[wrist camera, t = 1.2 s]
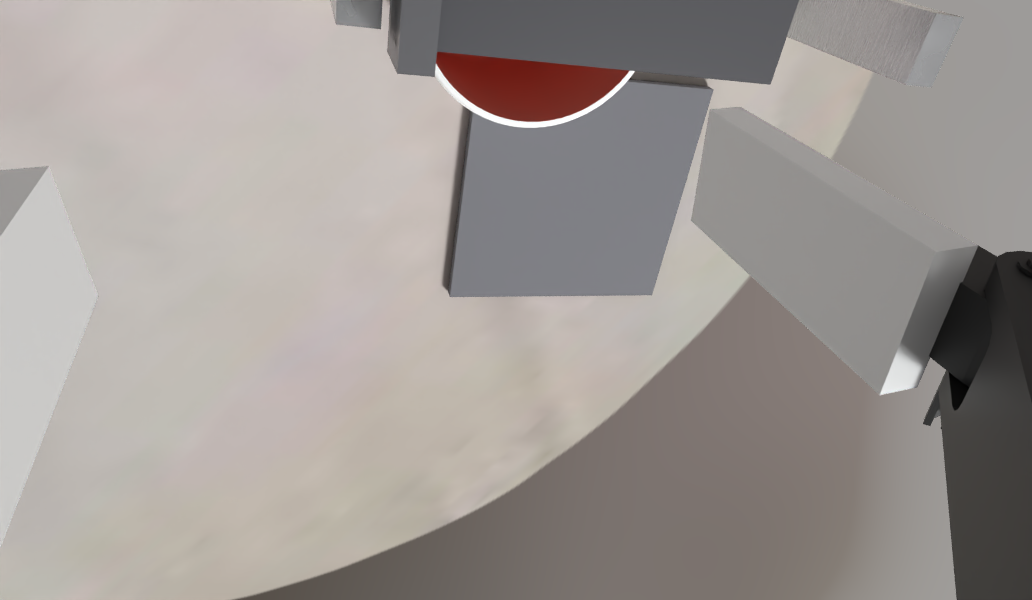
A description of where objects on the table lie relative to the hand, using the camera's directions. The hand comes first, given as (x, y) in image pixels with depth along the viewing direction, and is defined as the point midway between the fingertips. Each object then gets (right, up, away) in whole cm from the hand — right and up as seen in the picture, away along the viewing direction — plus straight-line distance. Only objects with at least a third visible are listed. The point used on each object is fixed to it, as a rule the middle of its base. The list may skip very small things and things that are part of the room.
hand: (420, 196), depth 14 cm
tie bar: (+4, +8, +11) cm, 14 cm away
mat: (+6, +4, +28) cm, 29 cm away
